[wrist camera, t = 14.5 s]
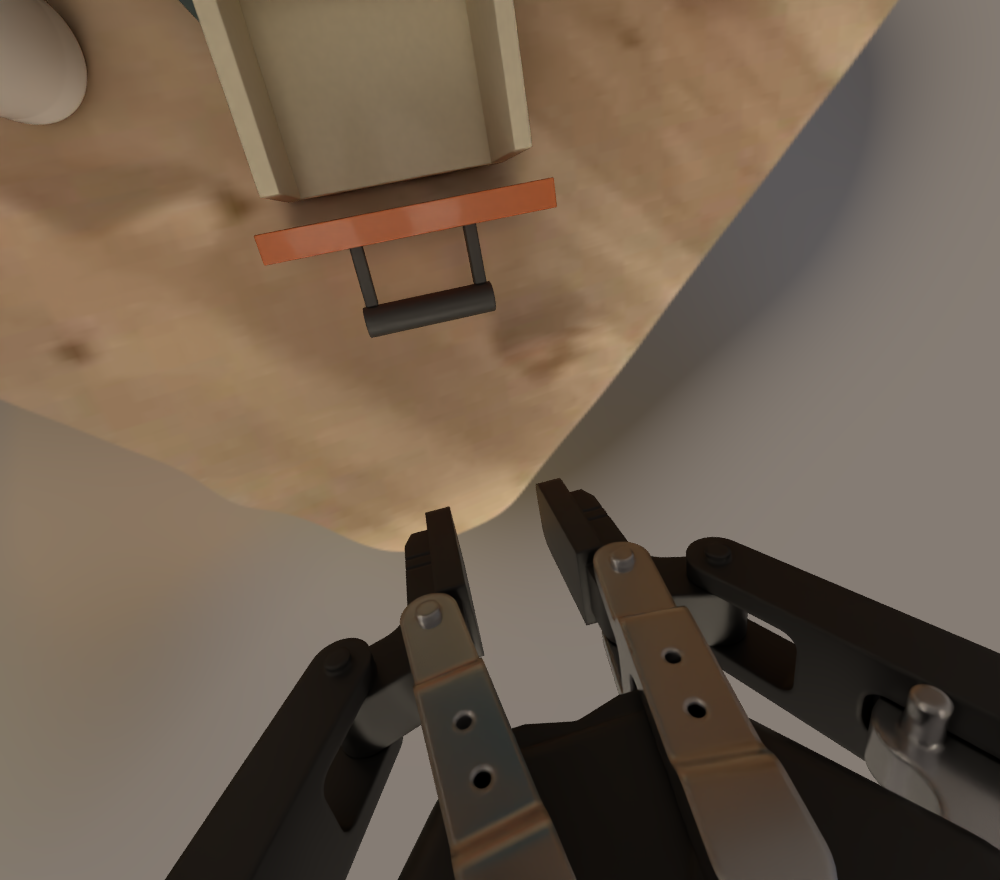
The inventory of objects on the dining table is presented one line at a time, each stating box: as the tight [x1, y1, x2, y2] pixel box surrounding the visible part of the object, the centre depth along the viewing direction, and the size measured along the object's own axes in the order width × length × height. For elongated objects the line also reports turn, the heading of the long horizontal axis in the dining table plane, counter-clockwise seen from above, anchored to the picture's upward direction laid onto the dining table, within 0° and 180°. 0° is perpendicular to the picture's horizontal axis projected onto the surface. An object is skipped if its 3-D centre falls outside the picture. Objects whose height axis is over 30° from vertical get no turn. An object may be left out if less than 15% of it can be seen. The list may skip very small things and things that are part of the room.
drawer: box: [192, 0, 557, 338], centre depth 23 cm, size 18×13×7 cm
